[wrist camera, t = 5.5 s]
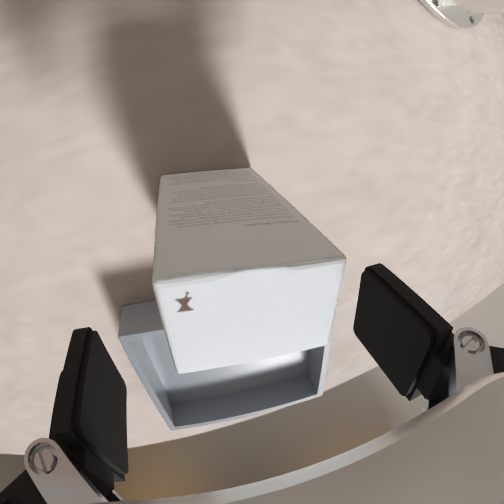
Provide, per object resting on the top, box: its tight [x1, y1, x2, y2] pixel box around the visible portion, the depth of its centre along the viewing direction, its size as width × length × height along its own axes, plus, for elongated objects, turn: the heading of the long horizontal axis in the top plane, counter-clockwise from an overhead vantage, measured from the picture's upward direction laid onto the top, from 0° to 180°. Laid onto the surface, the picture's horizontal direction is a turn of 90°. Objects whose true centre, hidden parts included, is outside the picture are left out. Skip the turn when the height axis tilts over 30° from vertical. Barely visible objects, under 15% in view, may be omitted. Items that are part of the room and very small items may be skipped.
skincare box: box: [152, 168, 346, 374], centre depth 14 cm, size 6×4×12 cm
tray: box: [118, 300, 337, 430], centre depth 25 cm, size 16×14×4 cm
